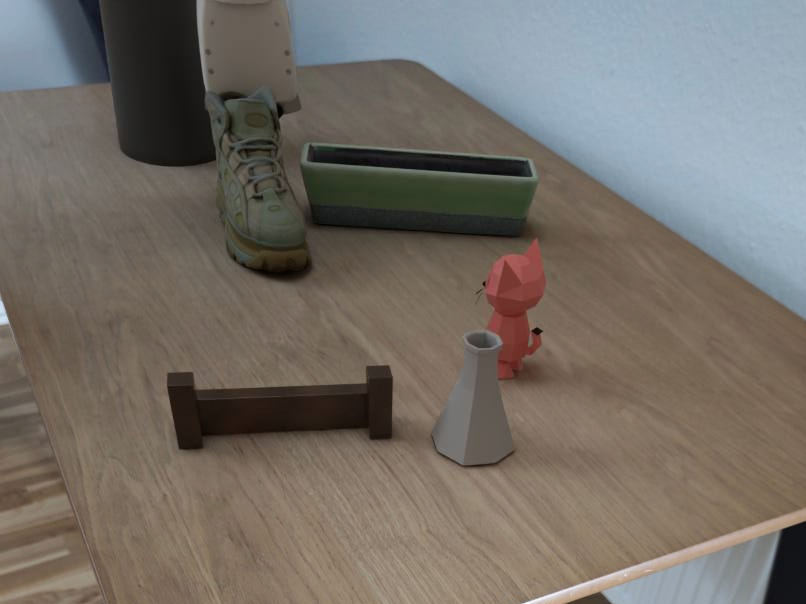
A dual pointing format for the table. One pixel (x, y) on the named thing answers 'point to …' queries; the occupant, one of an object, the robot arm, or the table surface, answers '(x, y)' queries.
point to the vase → (157, 81)
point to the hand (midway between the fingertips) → (259, 165)
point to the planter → (417, 188)
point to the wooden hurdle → (280, 407)
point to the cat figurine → (515, 306)
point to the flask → (475, 407)
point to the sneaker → (255, 183)
